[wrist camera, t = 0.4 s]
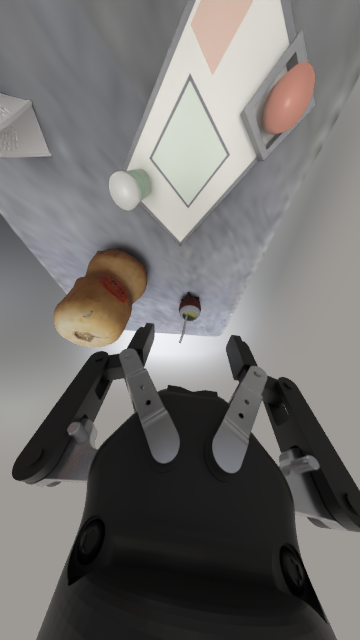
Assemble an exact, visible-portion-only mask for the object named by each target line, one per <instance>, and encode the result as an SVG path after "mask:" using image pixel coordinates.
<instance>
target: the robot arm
mask: <svg viewBox="0 0 360 640" xmlns="http://www.w3.org/2000/svg"><path fill="white" fill-rule="evenodd" d="M153 340H154V324H152V323H146V325H145V327H140V328H139V329H138V330H137V331H136V333H135V335H134V337H133V339H132V340H131V342H130V344H129V346H128V348H127V349H125V350H123V351H122V352H121V353H120V354H115V355H108V353H107V352H104V351H100V352H96V353H94V354H93V355H91V356H90V358H89V359H88V360H87V362H86V363H85V365H84V366H83V367H82V369H81V370H80V371H79V373H78V375H77V376H76V377H75V379H74V380H73V381H72V383H71V384H70V385H69V387H68V388H67V390H66V391H65V393H64V394H63V395H62V397H61V398H60V399H59V401H58V402H57V403H56V405H55V406H54V408H53V409H52V410H51V412H50V413H49V415H48V416H47V417H46V419H45V420H44V422H43V423H42V424H41V426H40V427H39V428H38V430H37V431H36V433H35V434H34V436H33V437H32V438H31V440H30V441H29V442H28V444H27V445H26V446H25V448H24V449H23V451H22V452H21V454H20V455H19V456H18V458H17V459H16V461H15V463H14V466H13V470H12V476H13V478H14V479H15V480H18V481H23V482H25V483H27V484H31V485H36V486H48V487H52V486H56V485H58V484H59V483H61V482H81V483H87V494H86V502H85V508H84V512H83V517H82V521H81V524H80V527H79V530H78V533H77V536H76V538H75V541H74V544H73V546H72V549H71V551H70V554H69V556H68V559H67V561H66V563H65V566H64V569H63V571H62V574H61V576H60V579H59V582H58V584H57V587H56V590H55V592H54V595H53V597H52V600H51V603H50V605H49V608H48V610H47V613H46V616H45V618H44V621H43V623H42V626H41V629H40V631H39V634H38V637H37V639H36V640H337V639H336V637H335V634H334V632H333V630H332V628H331V626H330V623H329V622H328V619H327V617H326V615H325V613H324V611H323V608H322V606H321V604H320V602H319V600H318V598H317V595H316V593H315V591H314V589H313V586H312V584H311V582H310V579H309V577H308V575H307V572H306V569H305V567H304V564H303V561H302V558H301V554H300V550H299V546H298V541H297V534H296V527H295V514H297V515H302V516H306V517H307V518H308V519H309V520H310V521H311V522H312V523H313V524H314V525H316V526H318V527H321V528H329V529H337V530H346V531H355V532H360V491H359V489H358V487H357V486H356V484H355V482H354V481H353V479H352V477H351V476H350V474H349V472H348V471H347V469H346V467H345V466H344V464H343V462H342V461H341V459H340V457H339V456H338V454H337V452H336V451H335V449H334V447H333V446H332V444H331V442H330V441H329V439H328V437H327V436H326V434H325V432H324V431H323V429H322V427H321V426H320V424H319V422H318V421H317V419H316V417H315V416H314V414H313V412H312V411H311V409H310V407H309V406H308V404H307V402H306V400H305V399H304V397H303V395H302V394H301V392H300V391H299V389H298V387H297V386H296V384H295V383H294V382H292V381H291V380H289V379H288V378H285V377H281V378H279V379H278V380H277V379H274V378H272V377H269V376H267V374H266V372H265V371H264V370H263V369H261V368H260V367H258V366H257V364H256V361H255V359H254V357H253V355H252V353H251V351H250V349H249V346H248V345H247V344H246V343H245V342H243V341H242V340H241V337H240V336H236V335H231V337H230V339H229V341H228V344H227V346H226V352H227V356H228V359H229V363H230V367H231V371H232V374H233V378H234V380H238V381H239V384H238V386H237V388H236V390H235V392H234V393H233V395H232V397H231V399H230V400H229V402H228V403H227V402H226V401H225V400H223V399H222V398H220V397H218V395H217V392H213V391H206V390H205V391H197V392H191V391H189V390H186V389H184V388H182V387H177V386H171V385H168V388H167V389H163V390H160V391H158V392H157V391H156V388H155V386H154V384H153V382H152V380H151V378H150V376H149V374H148V371H147V370H146V369H144V366H145V363H146V360H147V357H148V354H149V352H150V349H151V346H152V343H153ZM121 378H124V379H125V382H126V385H127V389H128V391H129V395H130V399H131V402H132V406H133V409H134V412H135V413H134V414H133V415H132V416H131V417H130V418H129V419H127V420H126V422H124V423H123V424H122V425H121V426H120V427H119V428H118V429H117V430H116V431H115V432H114V433H113V434H112V435H111V436H110V437H109V438H108V439H107V440H106V441H105V442H104V443H103V444H102V445H101V446H100V448H99V449H98V450H97V449H96V448H95V440H96V437H97V429H96V427H95V425H94V424H93V422H94V420H95V418H96V416H97V414H98V412H99V409H100V407H101V405H102V403H103V400H104V399H105V396H106V394H107V392H108V390H109V388H110V386H111V383H112V381H113V380H116V379H121ZM261 401H263V402H264V405H265V408H266V411H267V414H268V416H269V419H270V422H271V425H272V428H273V430H274V434H275V436H276V439H277V442H278V445H279V448H280V451H281V454H280V456H279V462H280V466H279V467H278V466H277V464H276V463H275V461H274V460H273V459H272V458H271V457H270V455H269V454H268V453H267V451H266V450H265V449H264V448H263V446H262V445H261V444H260V443H259V441H258V440H257V439H256V437H255V436H254V435H253V434H252V433H251V430H252V427H253V424H254V421H255V419H256V416H257V413H258V410H259V407H260V404H261ZM284 406H285V407H284ZM285 408H286V409H285ZM286 410H287V411H286ZM287 412H288V413H287Z"/></svg>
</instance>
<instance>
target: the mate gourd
mask: <svg viewBox="0 0 360 640" xmlns="http://www.w3.org/2000/svg"><path fill="white" fill-rule="evenodd" d="M181 301H182V302H181V304H180V307H179V313H180V316H181V317H182V318H183V319H184V320H185V322H184V327H183V331H182V336H181V339H180V341H179V343H181V341H182V338H183V335H184V333H185V326H186V321H193V320H196V319H197V318H198V317H199V315H200V312H201V306H200V302H199V297H194V298H193V297H191V295H190V292H188V297H187V298H185V299H182V300H181Z"/></svg>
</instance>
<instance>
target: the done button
mask: <svg viewBox="0 0 360 640" xmlns="http://www.w3.org/2000/svg"><path fill="white" fill-rule="evenodd" d="M314 84H315V73H314V69H313V67H312V65H311V64H309V63H307V62H302V63H299V64H297V65H296V66H294V67H293V68H292V69H291V70H289V71H288V72H287V73H286V74H285V75H284V76H283V77H282V78H281V79H280V80H279V81H278V82H277V83H276V84H275V85H274V86H273V88H272V89H271V91H270V93H269V95H268V97H267V99H266V102H265V105H264V108H263V113H262V126H263V129H264V131H265V132H266V133H267V134H269V135H275V134H278V133H282V132H285V131H287V130H289V129H290V128H292V127H293V126H294V125H295V124H296V123H297V122H298V121H299V119H300V118H301V117H302V115H303V114H304V112H305V110H306V108H307V106H308V104H309V102H310V100H311V97H312V94H313V90H314Z"/></svg>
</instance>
